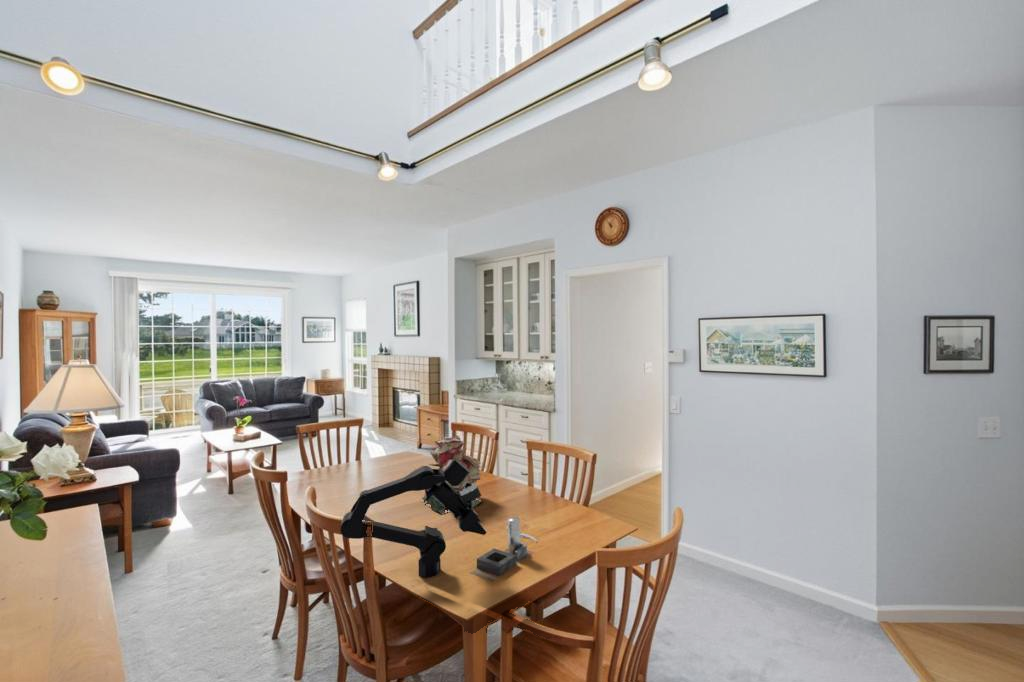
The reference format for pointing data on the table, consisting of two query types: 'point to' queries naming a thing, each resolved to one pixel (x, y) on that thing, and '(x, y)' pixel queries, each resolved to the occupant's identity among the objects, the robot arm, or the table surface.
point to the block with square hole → (499, 562)
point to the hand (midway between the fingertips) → (482, 527)
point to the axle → (513, 534)
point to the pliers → (525, 535)
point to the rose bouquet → (443, 457)
